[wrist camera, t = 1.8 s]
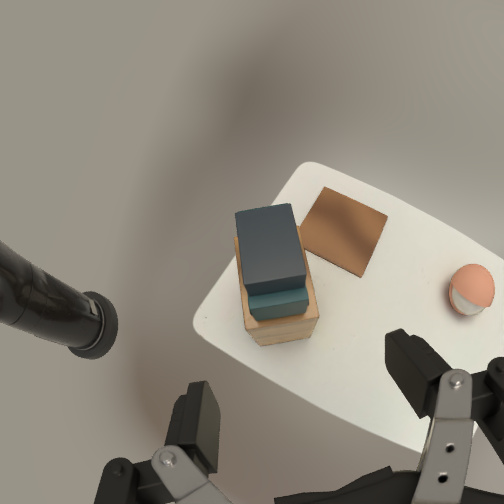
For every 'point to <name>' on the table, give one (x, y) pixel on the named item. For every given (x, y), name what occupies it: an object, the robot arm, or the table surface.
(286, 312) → the toy van
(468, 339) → the table surface
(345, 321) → the table surface
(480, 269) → the toy ball
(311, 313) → the wooden block
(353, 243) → the mat
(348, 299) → the table surface
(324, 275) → the table surface
